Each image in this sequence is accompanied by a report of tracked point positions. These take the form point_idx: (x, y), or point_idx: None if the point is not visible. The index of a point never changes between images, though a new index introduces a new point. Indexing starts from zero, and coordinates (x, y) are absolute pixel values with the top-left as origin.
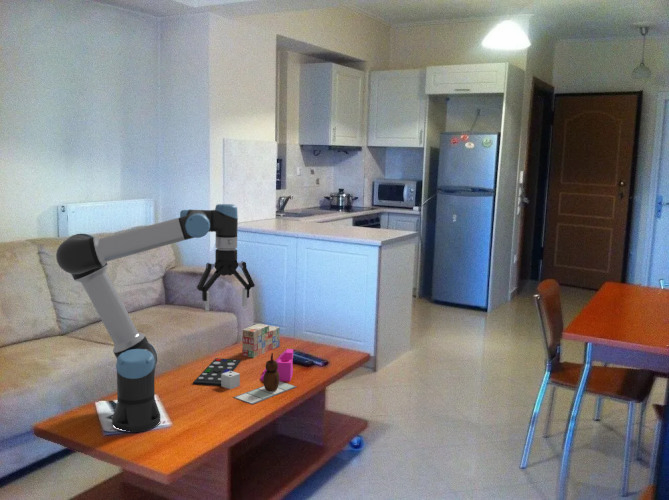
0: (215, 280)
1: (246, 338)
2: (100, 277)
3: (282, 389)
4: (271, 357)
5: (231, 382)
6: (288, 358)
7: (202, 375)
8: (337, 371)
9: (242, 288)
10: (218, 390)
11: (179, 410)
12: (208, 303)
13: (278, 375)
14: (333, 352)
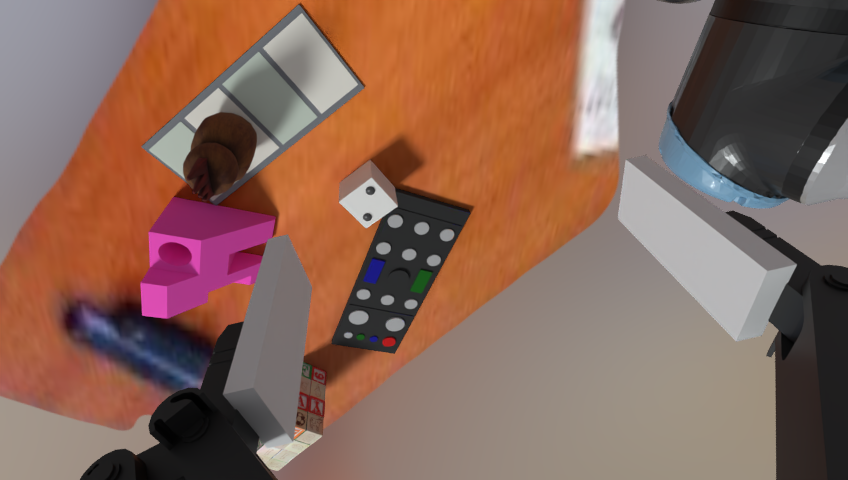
0: (827, 456)
1: (312, 409)
2: None
3: (193, 128)
4: (200, 179)
5: (366, 171)
6: (163, 271)
7: (440, 253)
8: (11, 260)
9: (293, 440)
10: (405, 155)
11: (544, 5)
12: (676, 189)
13: (191, 143)
14: (63, 387)
